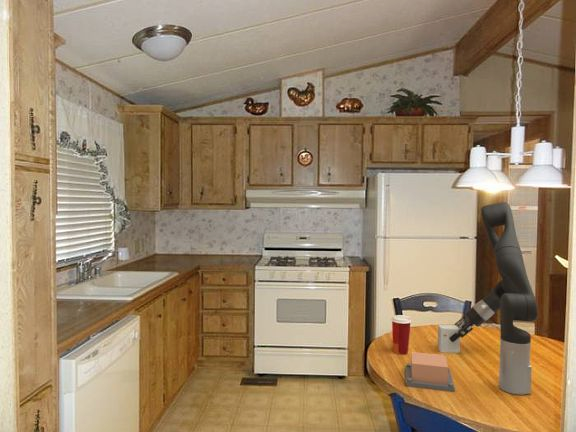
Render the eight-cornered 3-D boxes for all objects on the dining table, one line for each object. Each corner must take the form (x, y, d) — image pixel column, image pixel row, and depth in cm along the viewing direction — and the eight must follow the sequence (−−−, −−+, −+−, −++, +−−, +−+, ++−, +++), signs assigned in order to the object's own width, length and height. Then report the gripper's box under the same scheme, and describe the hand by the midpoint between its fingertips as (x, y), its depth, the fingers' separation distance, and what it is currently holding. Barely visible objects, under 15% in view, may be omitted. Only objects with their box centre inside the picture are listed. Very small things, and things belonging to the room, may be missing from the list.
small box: (456, 348, 191) (456, 325, 190) (459, 353, 185) (460, 328, 185) (437, 348, 191) (437, 324, 191) (440, 352, 186) (441, 328, 185)
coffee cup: (412, 351, 187) (413, 316, 186) (407, 357, 180) (408, 321, 179) (393, 347, 191) (394, 313, 191) (387, 353, 184) (388, 318, 183)
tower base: (449, 373, 164) (450, 353, 163) (454, 391, 148) (455, 370, 148) (405, 368, 168) (405, 349, 167) (405, 386, 152) (406, 364, 152)
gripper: (470, 302, 192) (442, 326, 195) (476, 310, 178) (445, 336, 181) (483, 315, 191) (454, 339, 194) (489, 324, 177) (458, 349, 180)
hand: (449, 337), depth 188 cm, fingers open, 7 cm apart
